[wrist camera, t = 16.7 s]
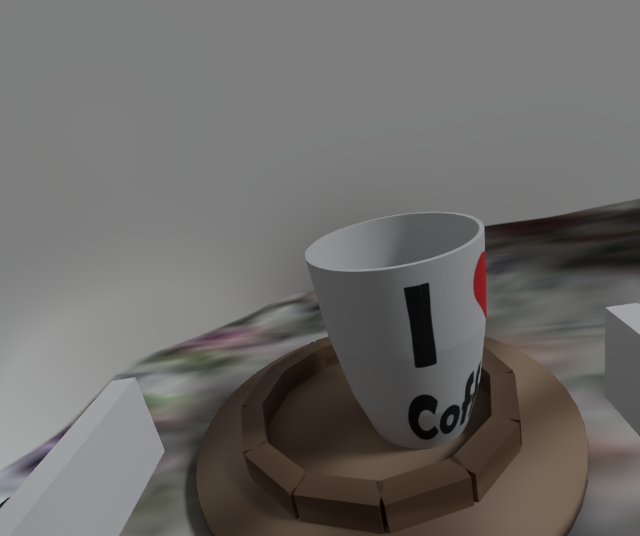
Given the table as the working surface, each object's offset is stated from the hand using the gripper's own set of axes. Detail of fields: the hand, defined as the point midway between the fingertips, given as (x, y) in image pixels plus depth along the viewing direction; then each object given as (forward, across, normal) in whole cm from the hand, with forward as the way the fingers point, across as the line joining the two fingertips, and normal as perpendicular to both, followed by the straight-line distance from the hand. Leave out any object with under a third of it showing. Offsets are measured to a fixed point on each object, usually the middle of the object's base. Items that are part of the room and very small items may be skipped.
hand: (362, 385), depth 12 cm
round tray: (+10, 0, -10) cm, 14 cm away
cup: (+9, +2, -9) cm, 13 cm away
